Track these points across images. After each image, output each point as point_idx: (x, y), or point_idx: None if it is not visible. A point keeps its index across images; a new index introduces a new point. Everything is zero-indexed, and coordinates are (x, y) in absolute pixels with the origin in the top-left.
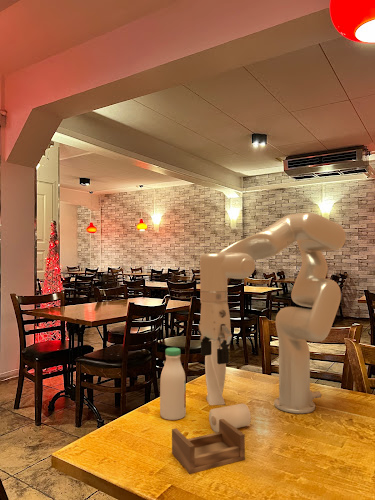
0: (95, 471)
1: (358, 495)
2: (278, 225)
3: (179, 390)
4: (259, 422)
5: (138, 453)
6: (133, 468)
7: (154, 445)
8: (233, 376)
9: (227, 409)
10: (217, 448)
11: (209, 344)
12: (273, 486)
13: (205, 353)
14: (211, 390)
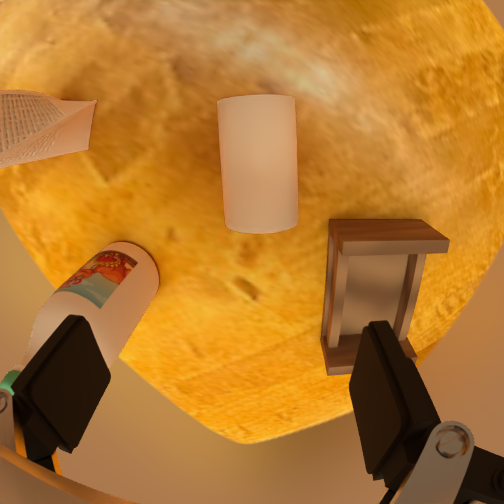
0: (309, 425)
1: None
2: None
3: (126, 314)
4: (260, 54)
5: (288, 382)
6: (330, 394)
7: (272, 356)
8: None
9: (274, 184)
10: (368, 261)
11: (52, 391)
12: (494, 226)
13: (99, 368)
14: (56, 143)
